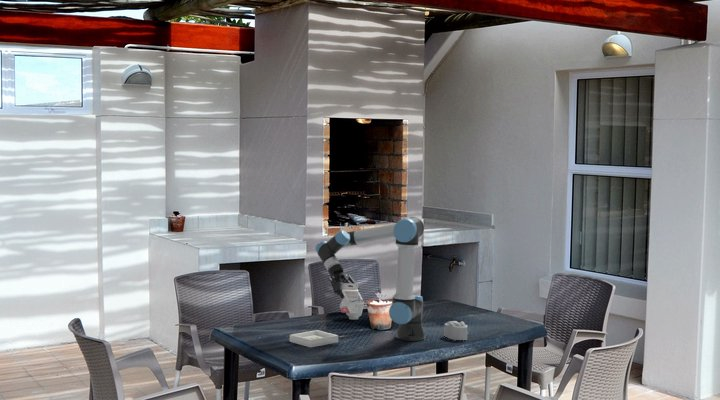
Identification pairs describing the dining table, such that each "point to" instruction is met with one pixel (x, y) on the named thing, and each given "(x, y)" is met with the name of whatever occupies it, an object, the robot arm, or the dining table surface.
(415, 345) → the dining table surface
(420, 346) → the dining table surface
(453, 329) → the lumpy-topped squat cylinder
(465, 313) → the dining table surface
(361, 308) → the teacup
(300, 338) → the tray
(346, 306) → the ink cartridge box
